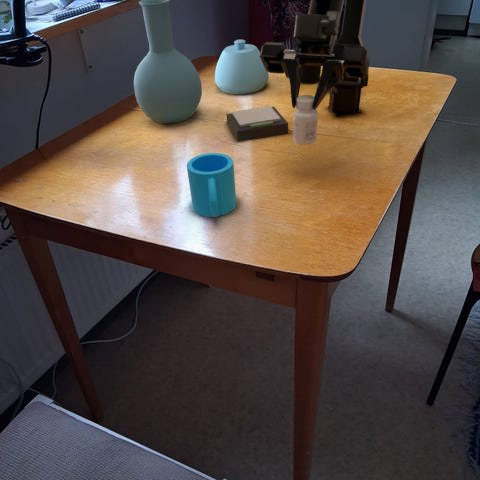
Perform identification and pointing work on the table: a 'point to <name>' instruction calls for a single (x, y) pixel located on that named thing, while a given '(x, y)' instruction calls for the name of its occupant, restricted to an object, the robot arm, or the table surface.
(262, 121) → the scale
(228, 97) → the table surface
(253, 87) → the sugar bowl
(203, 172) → the mug
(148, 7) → the vase
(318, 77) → the cup
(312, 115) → the pill bottle
